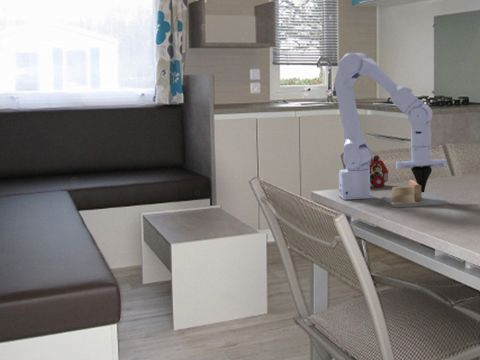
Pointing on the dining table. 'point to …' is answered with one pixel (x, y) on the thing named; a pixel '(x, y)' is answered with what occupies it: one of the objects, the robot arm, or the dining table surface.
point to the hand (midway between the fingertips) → (421, 191)
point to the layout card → (425, 201)
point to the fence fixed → (406, 194)
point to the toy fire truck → (378, 172)
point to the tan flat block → (412, 183)
